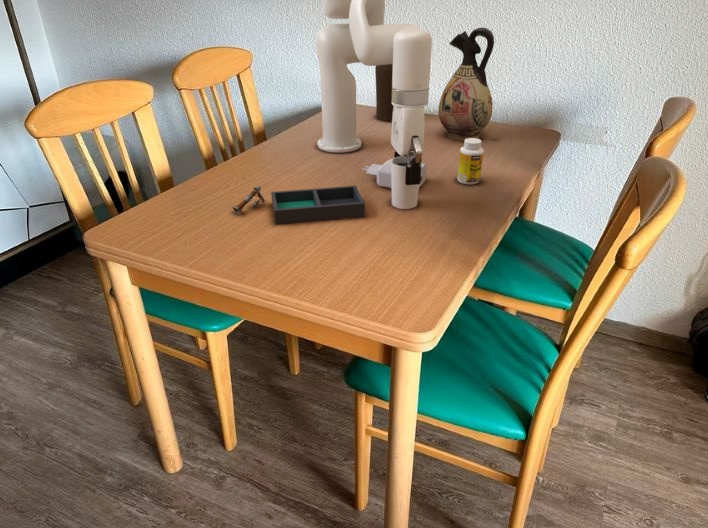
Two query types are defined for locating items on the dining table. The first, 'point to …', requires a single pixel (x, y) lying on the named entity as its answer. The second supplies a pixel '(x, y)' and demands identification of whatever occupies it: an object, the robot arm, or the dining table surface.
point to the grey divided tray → (317, 204)
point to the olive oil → (384, 92)
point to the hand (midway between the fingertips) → (406, 176)
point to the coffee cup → (402, 185)
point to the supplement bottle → (470, 162)
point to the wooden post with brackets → (248, 199)
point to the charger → (389, 173)
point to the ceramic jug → (467, 90)
